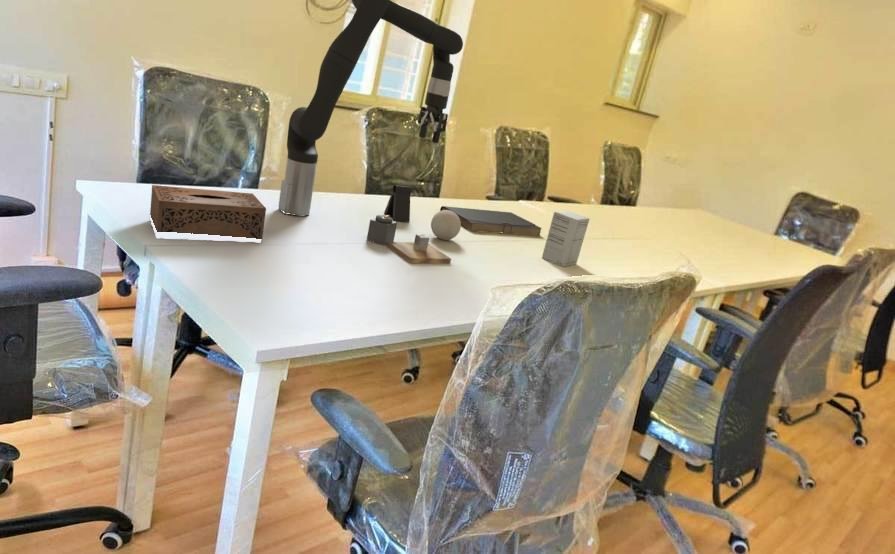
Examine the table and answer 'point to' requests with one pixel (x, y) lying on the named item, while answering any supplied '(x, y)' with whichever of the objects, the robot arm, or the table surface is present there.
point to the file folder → (493, 221)
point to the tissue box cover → (207, 212)
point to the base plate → (418, 253)
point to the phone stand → (399, 204)
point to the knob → (382, 229)
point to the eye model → (445, 224)
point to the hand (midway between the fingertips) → (428, 140)
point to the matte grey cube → (421, 243)
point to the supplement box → (565, 238)
